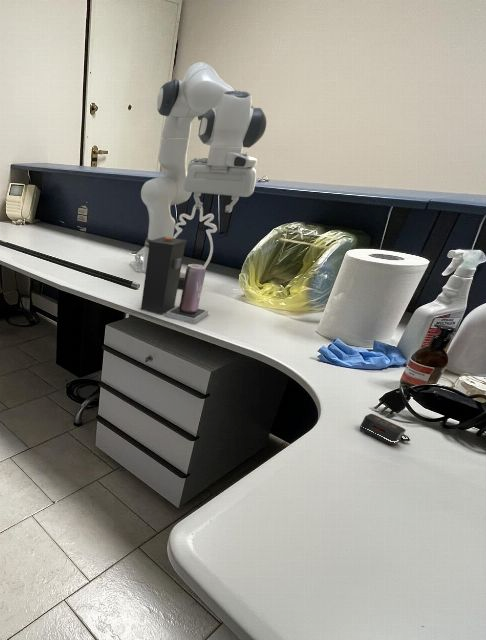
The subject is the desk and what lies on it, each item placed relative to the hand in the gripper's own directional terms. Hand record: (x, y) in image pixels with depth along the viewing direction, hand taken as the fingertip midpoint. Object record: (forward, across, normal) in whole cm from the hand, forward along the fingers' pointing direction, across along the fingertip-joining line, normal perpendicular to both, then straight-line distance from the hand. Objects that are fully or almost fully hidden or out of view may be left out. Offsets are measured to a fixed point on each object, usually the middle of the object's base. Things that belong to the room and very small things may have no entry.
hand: (212, 210), depth 125 cm
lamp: (+34, -16, +27) cm, 46 cm away
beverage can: (+32, 0, -4) cm, 32 cm away
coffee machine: (+33, -4, -4) cm, 34 cm away
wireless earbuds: (+32, +59, -42) cm, 80 cm away
